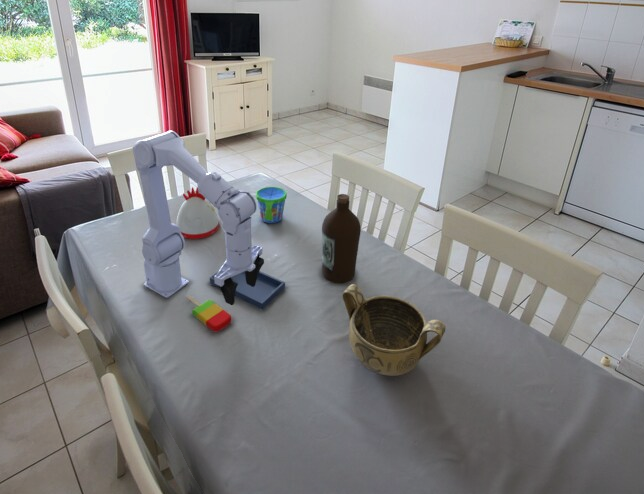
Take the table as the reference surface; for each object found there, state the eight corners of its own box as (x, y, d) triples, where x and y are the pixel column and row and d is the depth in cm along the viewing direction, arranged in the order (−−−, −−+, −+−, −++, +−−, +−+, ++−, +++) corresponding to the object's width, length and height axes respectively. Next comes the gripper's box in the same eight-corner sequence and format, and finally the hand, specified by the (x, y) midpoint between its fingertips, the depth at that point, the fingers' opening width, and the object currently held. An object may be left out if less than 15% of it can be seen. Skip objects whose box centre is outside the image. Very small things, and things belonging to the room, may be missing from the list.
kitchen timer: (214, 239, 139) (211, 198, 133) (171, 238, 139) (167, 197, 133) (221, 217, 152) (219, 179, 146) (182, 216, 152) (179, 178, 146)
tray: (209, 283, 118) (209, 277, 118) (234, 265, 126) (234, 259, 126) (262, 310, 109) (262, 303, 109) (285, 288, 117) (285, 282, 116)
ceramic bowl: (446, 358, 96) (457, 305, 90) (418, 415, 83) (429, 357, 78) (358, 315, 108) (362, 266, 102) (321, 359, 95) (324, 306, 89)
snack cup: (262, 206, 159) (262, 182, 155) (290, 209, 158) (290, 184, 154) (251, 228, 145) (250, 201, 141) (281, 231, 143) (281, 205, 140)
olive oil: (345, 259, 130) (350, 185, 120) (363, 280, 121) (371, 201, 111) (313, 267, 126) (316, 191, 116) (330, 289, 117) (334, 209, 107)
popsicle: (215, 334, 101) (215, 328, 101) (179, 304, 111) (178, 298, 110) (233, 322, 105) (233, 316, 105) (197, 294, 114) (196, 288, 114)
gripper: (230, 267, 87) (233, 319, 93) (272, 235, 99) (272, 283, 104) (205, 255, 91) (209, 306, 96) (248, 226, 102) (250, 272, 108)
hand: (240, 293), depth 100 cm, fingers open, 7 cm apart
